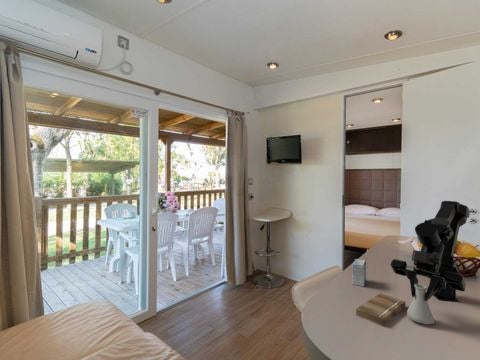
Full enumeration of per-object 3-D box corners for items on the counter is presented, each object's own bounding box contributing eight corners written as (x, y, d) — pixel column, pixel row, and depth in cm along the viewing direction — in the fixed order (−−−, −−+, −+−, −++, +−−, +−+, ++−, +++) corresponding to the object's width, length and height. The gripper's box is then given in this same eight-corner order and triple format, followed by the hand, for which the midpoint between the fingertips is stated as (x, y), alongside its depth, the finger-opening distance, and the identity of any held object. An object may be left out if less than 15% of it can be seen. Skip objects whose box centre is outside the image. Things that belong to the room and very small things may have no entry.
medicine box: (364, 287, 103) (364, 265, 103) (352, 284, 105) (352, 263, 105) (366, 280, 110) (366, 260, 109) (354, 278, 112) (355, 258, 112)
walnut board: (380, 298, 93) (380, 292, 93) (405, 306, 87) (405, 300, 87) (356, 314, 82) (356, 308, 82) (382, 326, 76) (382, 319, 76)
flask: (440, 326, 74) (440, 292, 74) (412, 323, 76) (412, 290, 76) (427, 313, 81) (427, 282, 81) (402, 310, 83) (402, 280, 83)
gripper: (392, 235, 88) (378, 275, 81) (463, 246, 73) (453, 296, 67) (401, 253, 93) (388, 292, 86) (469, 267, 79) (460, 315, 72)
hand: (419, 298), depth 78 cm, fingers closed on flask, 3 cm apart
